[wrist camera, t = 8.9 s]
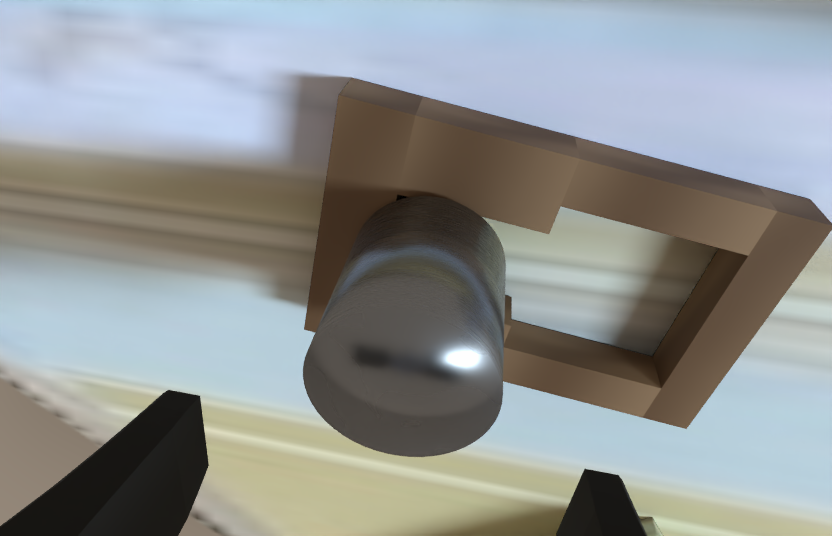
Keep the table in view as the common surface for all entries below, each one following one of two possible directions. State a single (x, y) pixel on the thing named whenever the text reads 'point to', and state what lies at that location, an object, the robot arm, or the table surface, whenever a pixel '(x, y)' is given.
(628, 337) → the table surface
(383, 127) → the keyhole plate
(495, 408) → the peg
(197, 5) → the table surface
